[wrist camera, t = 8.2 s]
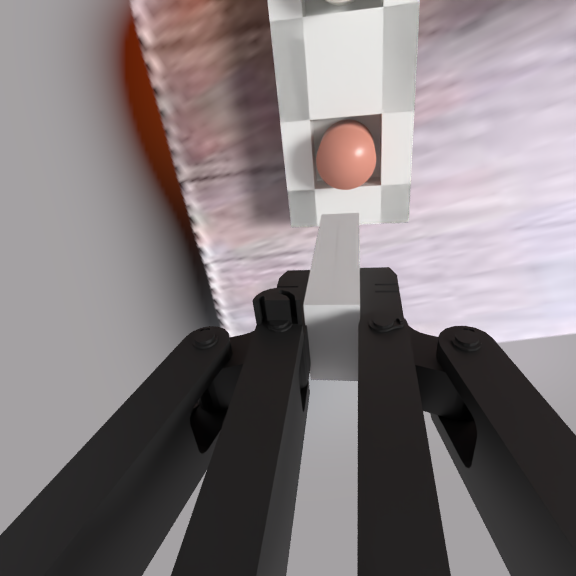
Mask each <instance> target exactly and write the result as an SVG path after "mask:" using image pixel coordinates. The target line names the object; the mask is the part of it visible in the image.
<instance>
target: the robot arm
mask: <svg viewBox="0 0 576 576" xmlns="http://www.w3.org/2000/svg"><path fill="white" fill-rule="evenodd" d="M253 306H254V312H255V317H256V323H257V326H256V329H255V331H253V332H250V333H247V334H244V335H239V336H235V337H230V338H229V333H228V332H227V331H226V330H225V329H223V328H220V327H213V326H212V327H210V326H209V327H204V328H200V329H198V330H196V331H193V332H191V333H190V334H189V335H188V336H186V337H185V338H184V339H183V340H182V342H181V343H180V344H179V345H178V346H177V347H176V348H175V349H174V350H173V351H172V352H171V353H170V354H169V355H168V357H167V358H166V359H165V360H164V361H163V362H162V363H161V364H160V365H159V366H158V367H157V368H156V369H155V371H154V372H153V373H152V374H151V375H150V376H149V377H148V378H147V379H146V380H145V381H144V382H143V383H142V384H141V385H140V387H139V388H138V389H137V390H136V391H135V392H134V393H133V394H132V395H131V396H130V397H129V398H128V399H127V400H126V401H125V402H124V404H123V405H122V406H121V407H120V408H119V409H118V410H117V411H116V412H115V413H114V414H113V415H112V417H111V418H110V419H109V420H108V421H107V422H106V423H105V424H104V425H103V426H102V427H101V428H100V429H99V430H98V432H97V433H96V434H95V435H94V436H93V437H92V438H91V439H90V440H89V441H88V442H87V443H86V444H85V446H83V448H82V449H81V450H80V451H79V452H78V453H77V454H76V455H75V456H74V457H73V458H72V459H71V460H70V462H69V463H67V465H66V466H65V467H64V468H63V469H62V470H61V471H60V472H59V473H58V474H57V475H56V476H55V477H54V478H53V480H52V481H51V482H50V483H49V484H48V485H47V486H46V487H45V488H44V489H43V490H42V491H41V492H40V493H39V495H38V496H37V497H36V498H35V499H34V500H33V501H32V502H31V503H30V504H29V505H28V506H27V507H26V508H25V510H24V511H23V512H22V513H21V514H20V515H19V516H18V517H17V518H16V519H15V520H14V521H13V522H12V524H11V525H10V526H9V527H8V528H7V529H6V530H5V531H4V532H3V533H2V534H1V535H0V576H142V575H143V573H144V571H145V570H146V568H147V566H148V565H149V563H150V561H151V560H152V558H153V557H154V555H155V553H156V551H157V550H158V549H159V547H160V545H161V544H162V542H163V540H164V539H165V537H166V535H167V534H168V532H169V531H170V529H171V527H172V526H173V524H174V522H175V521H176V519H177V518H178V516H179V514H180V512H181V511H182V509H183V508H184V506H185V504H186V503H187V501H188V500H189V498H190V496H191V495H192V493H193V491H194V490H195V488H196V487H197V485H198V483H199V482H200V480H201V478H202V477H203V475H204V473H205V472H206V470H207V472H206V475H205V478H204V481H203V483H202V487H201V489H200V493H199V495H198V498H197V501H196V504H195V507H194V510H193V513H192V516H191V518H190V521H189V525H188V527H187V530H186V533H185V536H184V539H183V542H182V545H181V548H180V551H179V553H178V556H177V559H176V563H175V565H174V568H173V571H172V574H171V576H286V572H287V564H288V557H289V549H290V541H291V533H292V526H293V518H294V510H295V502H296V495H297V486H298V479H299V472H300V464H301V456H302V449H303V440H304V433H305V425H306V418H307V410H308V402H309V394H310V390H309V381H308V379H309V373H310V376H311V380H343V381H358V576H451V574H450V568H449V563H448V556H447V551H446V546H445V539H444V533H443V527H442V521H441V515H440V509H439V503H438V497H437V491H436V485H435V480H434V474H433V468H432V462H431V456H430V450H429V444H428V438H427V432H426V427H425V421H424V415H423V411H426V412H429V413H430V414H431V418H432V420H433V423H434V424H435V426H436V428H437V430H438V432H439V434H440V436H441V438H442V440H443V442H444V444H445V446H446V448H447V450H448V452H449V454H450V456H451V458H452V460H453V462H454V464H455V466H456V468H457V470H458V472H459V474H460V476H461V478H462V480H463V482H464V484H465V486H466V488H467V490H468V492H469V494H470V496H471V498H472V500H473V502H474V504H475V505H476V508H477V510H478V511H479V514H480V516H481V518H482V519H483V522H484V524H485V526H486V528H487V529H488V531H489V533H490V535H491V537H492V539H493V541H494V543H495V545H496V547H497V549H498V551H499V553H500V555H501V557H502V559H503V561H504V563H505V565H506V567H507V569H508V571H509V573H510V575H511V576H576V435H575V434H574V433H573V432H572V431H571V429H570V428H569V427H568V426H567V425H566V424H565V423H564V421H563V420H562V419H561V418H560V417H559V416H558V414H557V413H556V412H555V411H554V410H553V408H552V407H551V406H550V405H549V404H548V403H547V401H546V400H545V399H544V398H543V397H542V396H541V394H540V393H539V392H538V391H537V390H536V389H535V387H534V386H533V385H532V384H531V383H530V382H529V380H528V379H527V378H526V377H525V376H524V374H523V373H522V372H521V371H520V370H519V369H518V367H517V366H516V365H515V364H514V363H513V362H512V360H511V359H510V358H509V357H508V356H507V355H506V353H505V352H504V351H503V350H502V349H501V348H500V346H499V345H498V344H497V343H496V342H495V340H494V339H493V338H492V337H491V336H489V335H488V334H487V333H486V332H484V331H481V330H479V329H477V328H473V327H468V326H453V327H450V328H446V329H445V330H443V331H442V332H441V333H440V335H439V337H435V336H431V335H427V334H423V333H420V332H418V331H416V330H414V329H412V328H411V327H410V326H408V323H407V321H406V319H404V317H403V310H402V304H401V298H400V292H399V286H398V280H397V275H396V274H395V273H394V272H393V271H392V270H391V269H390V268H389V267H385V268H360V240H359V213H343V214H322V215H321V220H320V224H319V229H318V234H317V239H316V244H315V249H314V254H313V259H312V264H311V269H310V270H293V271H287V272H286V273H284V274H283V275H282V276H281V277H280V278H279V281H278V284H277V288H273V289H269V290H266V291H263V292H261V293H260V294H258V295H256V297H255V298H254V299H253Z"/></svg>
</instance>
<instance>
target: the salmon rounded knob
mask: <svg viewBox="0 0 576 576" xmlns="http://www.w3.org/2000/svg"><path fill="white" fill-rule="evenodd" d="M316 165H317V170H318V172H319V174H320V176H321V178H322V179H323V180H324V181H325V182H326V183H327V184H328V185H330V186H331V187H333V188H336V189H340V190H350V189H354V188H357V187H359V186H361V185H362V184H364V183H365V182H366V181H367V180H368V179H369V178H370V176H371V175H372V173H373V171H374V169H375V165H376V152H375V146H374V141H373V137H372V134H371V132H370V131H369V129H368V128H367V127H366V126H365V125H364V124H362V123H361V122H358V121H356V120H351V119H346V120H341V121H338V122H336V123H334V124H333V125H331V126H330V127H329V128H328V129H327V130H326V132H325V133H324V135H323V137H322V140H321V143H320V146H319V149H318V152H317V157H316Z"/></svg>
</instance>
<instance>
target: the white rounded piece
mask: <svg viewBox="0 0 576 576" xmlns="http://www.w3.org/2000/svg"><path fill="white" fill-rule="evenodd" d="M324 1H326V2H327V3H329V4H332V5H337V6H342V5H347V4H350V3H352V2H354V1H355V0H324Z"/></svg>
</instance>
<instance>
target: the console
mask: <svg viewBox="0 0 576 576" xmlns="http://www.w3.org/2000/svg"><path fill="white" fill-rule="evenodd" d="M419 5H420V0H355V1H354V2H352V3H350V4H347V5H342V6H337V5H332V4H329V3H327V2H326V1H324V0H268V10H269V19H270V29H271V39H272V48H273V58H274V67H275V77H276V87H277V96H278V106H279V115H280V125H281V134H282V144H283V154H284V163H285V173H286V182H287V192H288V202H289V211H290V221H291V227H313V226H319V224H320V220H321V215H322V214H343V213H359V225H361V224H385V223H408V222H409V206H410V186H411V166H412V146H413V126H414V106H415V85H416V65H417V45H418V25H419ZM346 119H351V120H356V121H358V122H361V123H362V124H364V125H365V126H366V127H367V128H368V129H369V131H370V132H371V134H372V137H373V141H374V146H375V152H376V165H375V169H374V171H373V173H372V175H371V176H370V178H369V179H368V180H367V181H366V182H365V183H364V184H362V185H361V186H359V187H357V188H354V189H350V190H340V189H336V188H333V187H331V186H330V185H328V184H327V183H326V182H325V181H324V180H323V179H322V178H321V176H320V174H319V172H318V170H317V165H316V157H317V152H318V149H319V146H320V143H321V140H322V137H323V135H324V133H325V132H326V130H327V129H328V128H329V127H330V126H331V125H333V124H334V123H336V122H338V121H341V120H346Z"/></svg>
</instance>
